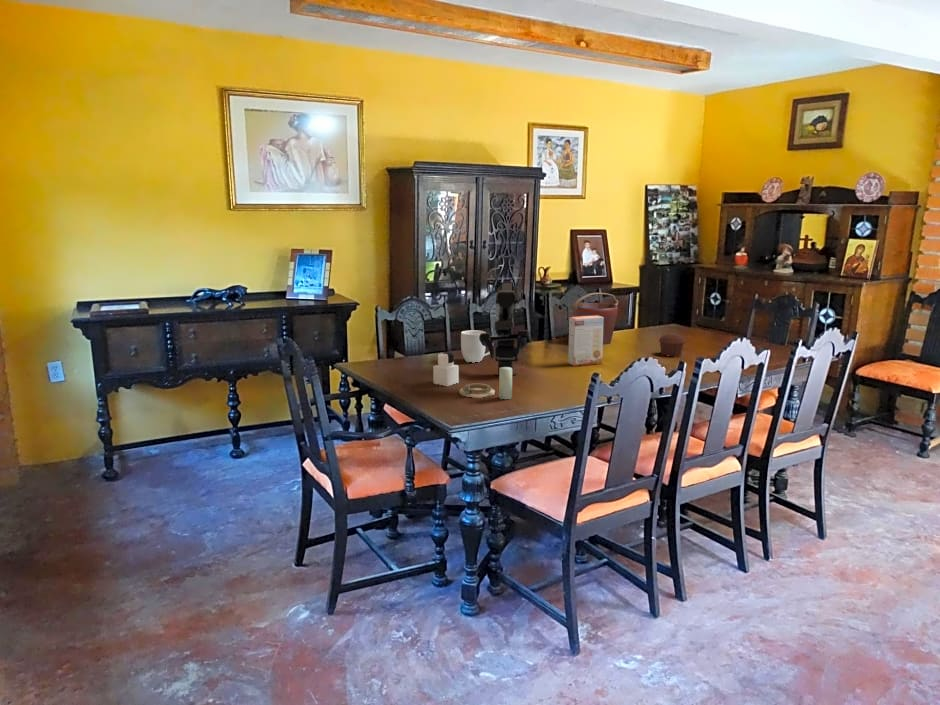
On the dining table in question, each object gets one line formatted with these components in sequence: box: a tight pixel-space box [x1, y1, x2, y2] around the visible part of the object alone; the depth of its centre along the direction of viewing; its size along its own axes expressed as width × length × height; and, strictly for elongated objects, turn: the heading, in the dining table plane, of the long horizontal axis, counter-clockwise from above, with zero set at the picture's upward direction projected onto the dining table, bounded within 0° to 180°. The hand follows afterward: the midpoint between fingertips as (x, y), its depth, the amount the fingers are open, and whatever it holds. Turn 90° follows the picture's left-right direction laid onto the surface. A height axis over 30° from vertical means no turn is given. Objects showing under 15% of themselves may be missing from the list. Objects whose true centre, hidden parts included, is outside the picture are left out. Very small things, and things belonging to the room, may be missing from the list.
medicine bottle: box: [432, 351, 460, 387], centre depth 264 cm, size 7×7×12 cm
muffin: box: [658, 332, 686, 357], centre depth 316 cm, size 12×11×10 cm
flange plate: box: [458, 382, 496, 399], centre depth 251 cm, size 13×13×4 cm
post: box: [498, 367, 513, 400], centre depth 244 cm, size 5×5×11 cm
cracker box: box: [567, 315, 604, 367], centre depth 296 cm, size 14×6×21 cm, turn 109°
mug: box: [460, 329, 490, 364], centre depth 302 cm, size 15×11×13 cm
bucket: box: [572, 292, 619, 346], centre depth 343 cm, size 24×22×25 cm
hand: (504, 358), depth 252 cm, fingers open, 9 cm apart
